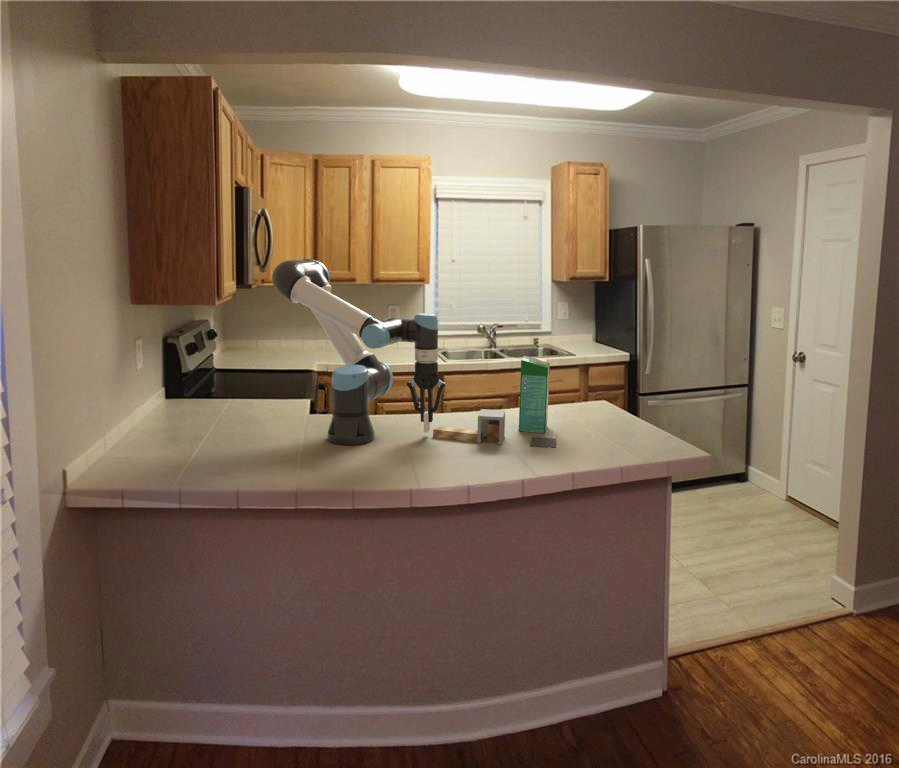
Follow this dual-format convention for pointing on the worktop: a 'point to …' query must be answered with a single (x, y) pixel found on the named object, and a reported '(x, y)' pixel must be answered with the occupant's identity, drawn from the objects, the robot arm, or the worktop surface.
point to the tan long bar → (456, 434)
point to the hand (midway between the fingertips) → (426, 431)
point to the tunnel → (484, 419)
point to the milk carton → (534, 395)
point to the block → (494, 431)
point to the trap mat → (543, 442)
